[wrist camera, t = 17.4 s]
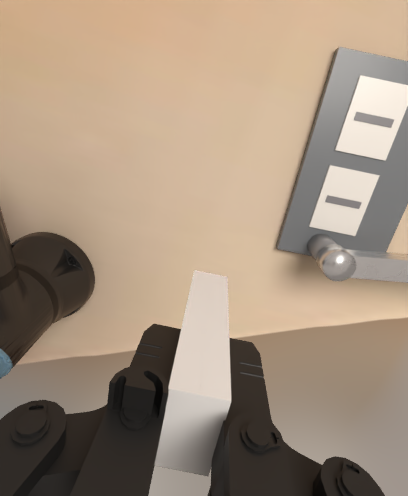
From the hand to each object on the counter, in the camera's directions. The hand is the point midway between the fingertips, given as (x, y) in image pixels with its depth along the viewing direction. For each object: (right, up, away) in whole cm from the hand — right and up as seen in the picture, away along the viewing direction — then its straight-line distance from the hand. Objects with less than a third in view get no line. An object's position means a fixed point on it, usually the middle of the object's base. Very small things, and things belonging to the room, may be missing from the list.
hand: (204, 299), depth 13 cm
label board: (+22, +13, +28) cm, 38 cm away
